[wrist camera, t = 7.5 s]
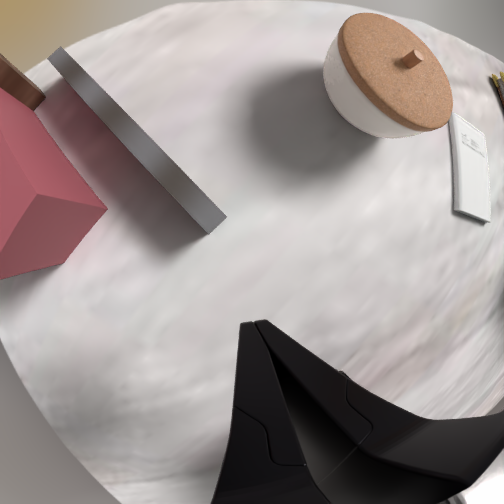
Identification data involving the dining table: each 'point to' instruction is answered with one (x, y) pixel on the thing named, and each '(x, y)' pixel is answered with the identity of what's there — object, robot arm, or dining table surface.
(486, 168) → the external hard drive
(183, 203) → the bookend
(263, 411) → the robot arm
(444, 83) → the lidded jar
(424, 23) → the dining table surface
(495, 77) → the book
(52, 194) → the pink rectangular block
